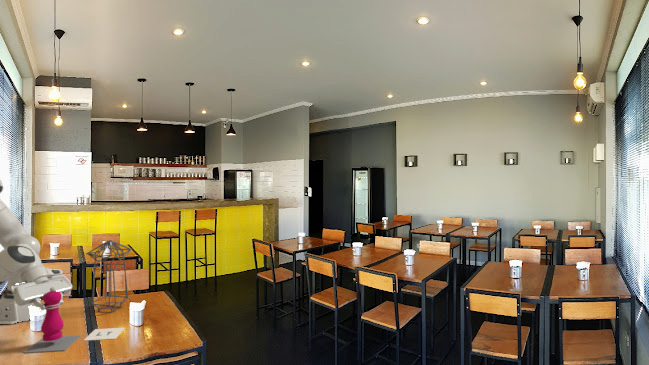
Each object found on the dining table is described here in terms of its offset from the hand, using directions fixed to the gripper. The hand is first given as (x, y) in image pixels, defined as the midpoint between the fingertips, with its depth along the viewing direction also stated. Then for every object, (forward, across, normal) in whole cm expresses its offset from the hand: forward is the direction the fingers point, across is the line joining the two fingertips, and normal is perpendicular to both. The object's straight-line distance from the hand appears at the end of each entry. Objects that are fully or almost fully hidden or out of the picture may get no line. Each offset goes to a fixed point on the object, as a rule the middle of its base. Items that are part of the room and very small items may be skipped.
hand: (53, 306), depth 155 cm
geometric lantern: (0, +38, +22) cm, 44 cm away
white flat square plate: (+17, +16, +4) cm, 24 cm away
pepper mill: (+9, 0, +9) cm, 13 cm away
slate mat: (+10, 0, +11) cm, 15 cm away
